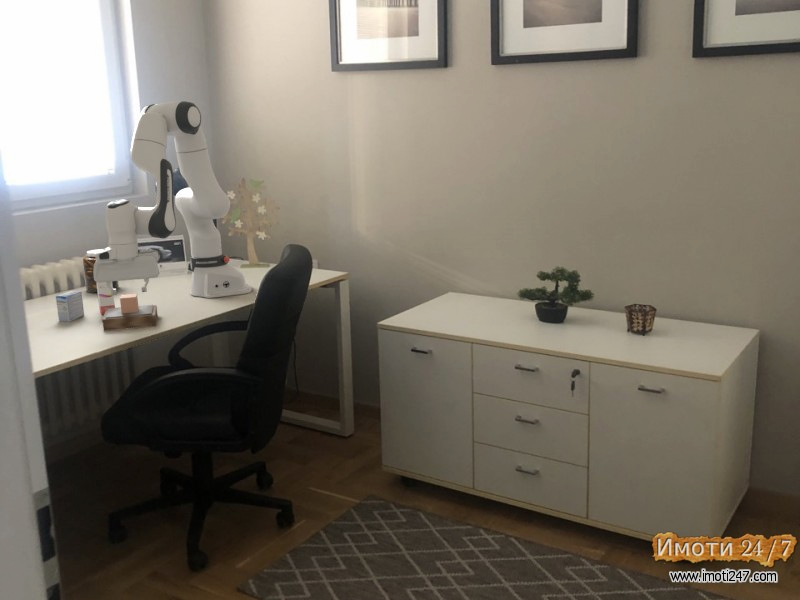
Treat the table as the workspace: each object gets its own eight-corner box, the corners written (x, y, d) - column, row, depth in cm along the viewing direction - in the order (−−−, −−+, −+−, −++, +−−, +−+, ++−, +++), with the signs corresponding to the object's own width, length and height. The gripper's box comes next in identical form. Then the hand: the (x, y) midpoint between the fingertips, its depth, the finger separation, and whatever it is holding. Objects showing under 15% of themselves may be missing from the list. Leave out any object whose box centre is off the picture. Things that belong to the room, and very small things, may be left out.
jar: (109, 293, 319) (104, 254, 315) (80, 292, 321) (75, 253, 317) (124, 286, 330) (119, 248, 327) (96, 285, 332) (92, 248, 329)
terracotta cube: (138, 308, 278) (137, 293, 277) (137, 312, 273) (136, 297, 272) (122, 309, 277) (121, 294, 275) (121, 313, 272) (119, 298, 271)
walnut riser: (157, 315, 284) (156, 303, 283) (155, 326, 271) (154, 314, 270) (107, 319, 281) (106, 307, 280) (103, 330, 267) (102, 318, 266)
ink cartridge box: (116, 313, 289) (111, 271, 285) (101, 315, 287) (96, 272, 283) (114, 307, 296) (109, 266, 293) (99, 309, 295) (94, 268, 291)
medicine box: (73, 315, 288) (70, 290, 286) (84, 315, 287) (81, 290, 285) (58, 321, 281) (55, 295, 278) (69, 321, 279) (66, 296, 277)
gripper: (158, 246, 275) (162, 287, 279) (92, 252, 271) (97, 293, 274) (157, 250, 269) (162, 292, 273) (90, 255, 265) (95, 298, 268)
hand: (129, 293), depth 274 cm, fingers open, 8 cm apart
